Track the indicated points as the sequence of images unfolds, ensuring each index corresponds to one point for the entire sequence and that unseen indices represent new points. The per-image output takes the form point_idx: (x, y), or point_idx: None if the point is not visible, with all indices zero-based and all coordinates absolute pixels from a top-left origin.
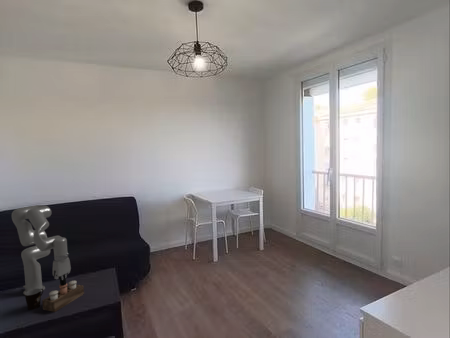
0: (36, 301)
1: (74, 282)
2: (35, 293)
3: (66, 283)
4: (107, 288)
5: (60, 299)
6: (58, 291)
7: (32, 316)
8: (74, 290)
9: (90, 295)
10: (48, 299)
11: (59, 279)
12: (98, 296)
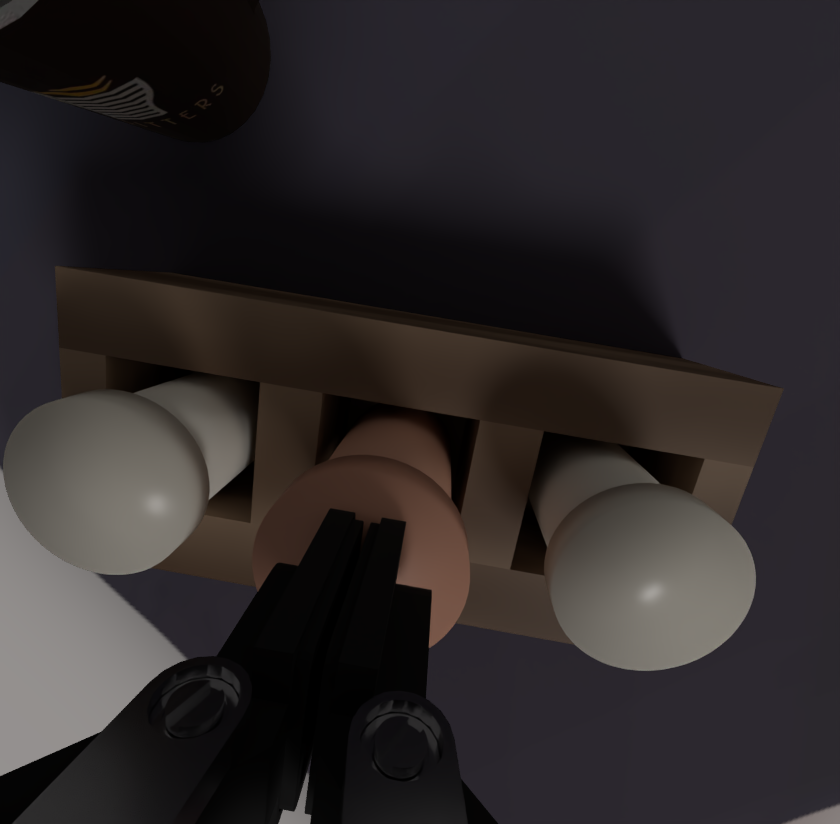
0: (74, 105)
1: (628, 649)
2: None
3: (450, 606)
4: (769, 762)
5: (190, 567)
6: (417, 332)
7: (11, 263)
8: (484, 618)
9: (583, 659)
10: (132, 356)
11: (175, 691)
12: (560, 755)
